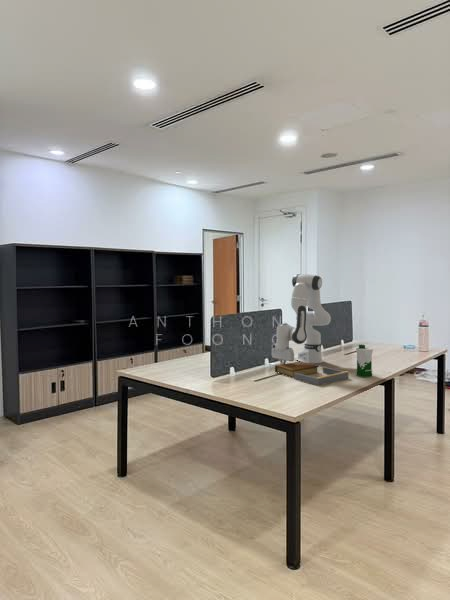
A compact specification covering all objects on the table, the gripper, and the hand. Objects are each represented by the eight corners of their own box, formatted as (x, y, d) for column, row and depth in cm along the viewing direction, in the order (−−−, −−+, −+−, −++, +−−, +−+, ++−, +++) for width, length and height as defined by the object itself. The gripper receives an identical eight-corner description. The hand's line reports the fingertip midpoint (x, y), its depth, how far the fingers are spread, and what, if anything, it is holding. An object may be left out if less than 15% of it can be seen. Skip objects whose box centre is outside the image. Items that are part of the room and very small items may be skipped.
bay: (294, 379, 268) (294, 372, 268) (324, 372, 285) (324, 366, 284) (318, 385, 252) (318, 378, 252) (348, 378, 268) (348, 371, 268)
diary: (300, 369, 300) (300, 361, 300) (318, 374, 284) (318, 365, 284) (274, 373, 288) (274, 364, 288) (292, 378, 272) (292, 369, 272)
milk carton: (364, 373, 281) (364, 344, 280) (374, 376, 273) (374, 345, 272) (354, 375, 277) (354, 345, 276) (364, 378, 269) (364, 347, 268)
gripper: (296, 347, 290) (296, 367, 290) (276, 344, 306) (276, 362, 307) (289, 348, 286) (289, 368, 287) (270, 345, 303) (270, 363, 304)
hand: (282, 365), depth 297 cm, fingers closed
